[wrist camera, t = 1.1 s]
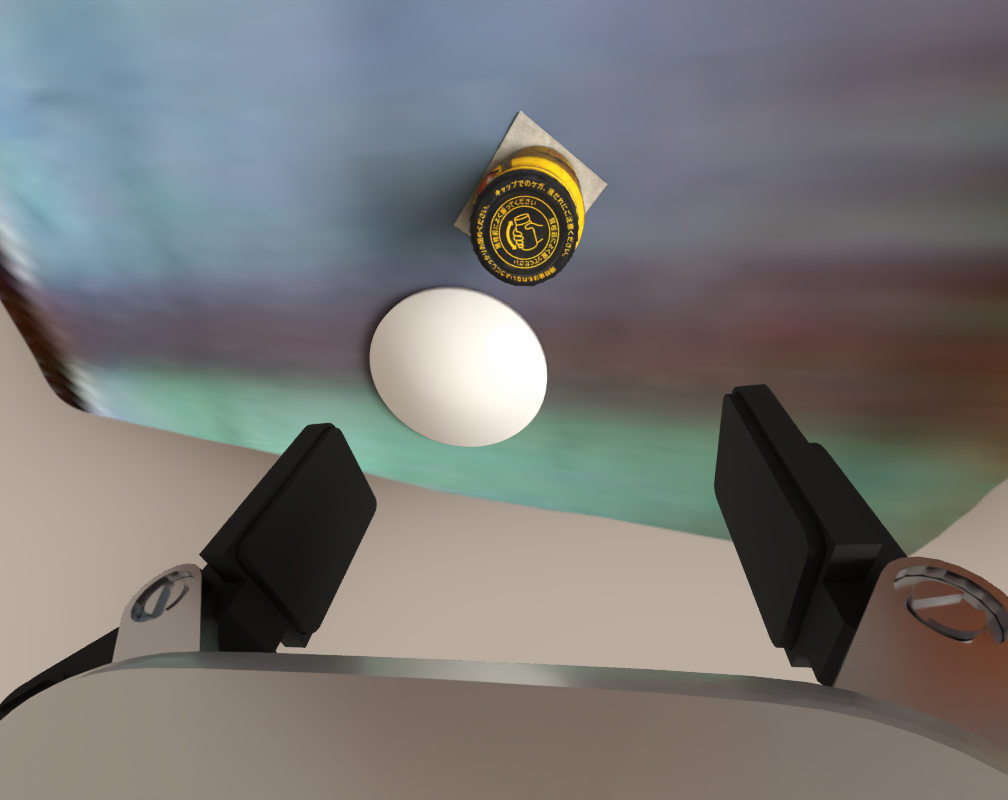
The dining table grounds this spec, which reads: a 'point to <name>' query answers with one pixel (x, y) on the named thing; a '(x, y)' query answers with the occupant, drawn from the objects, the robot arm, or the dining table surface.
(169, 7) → the dining table surface
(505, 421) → the plate
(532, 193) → the condiment
